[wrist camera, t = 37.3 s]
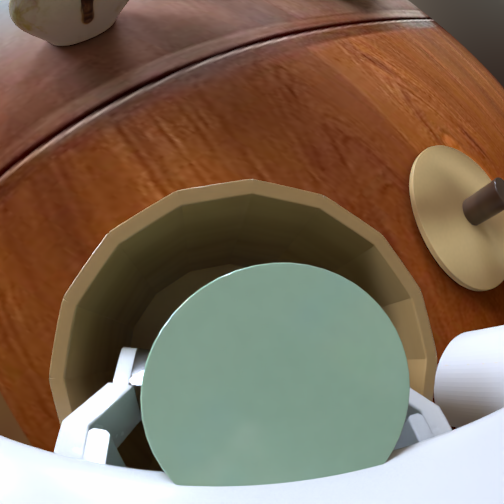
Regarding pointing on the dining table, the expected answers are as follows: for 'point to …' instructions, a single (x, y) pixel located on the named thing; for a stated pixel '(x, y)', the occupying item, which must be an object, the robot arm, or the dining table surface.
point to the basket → (210, 268)
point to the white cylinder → (471, 376)
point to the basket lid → (459, 216)
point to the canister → (274, 380)
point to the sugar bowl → (65, 18)
